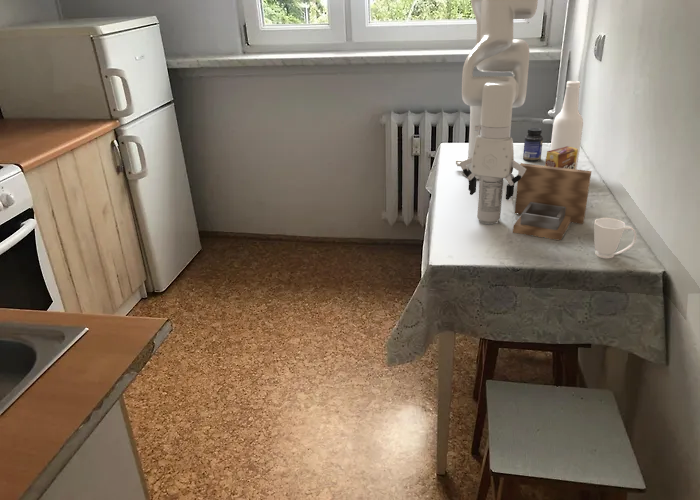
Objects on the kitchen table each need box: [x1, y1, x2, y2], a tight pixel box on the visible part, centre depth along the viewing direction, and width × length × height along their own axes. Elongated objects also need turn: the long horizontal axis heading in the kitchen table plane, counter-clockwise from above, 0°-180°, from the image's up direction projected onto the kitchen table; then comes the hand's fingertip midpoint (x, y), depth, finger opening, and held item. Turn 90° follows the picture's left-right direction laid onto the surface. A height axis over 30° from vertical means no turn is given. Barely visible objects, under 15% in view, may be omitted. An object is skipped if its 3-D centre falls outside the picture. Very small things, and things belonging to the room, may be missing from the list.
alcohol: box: [549, 80, 584, 170], centre depth 183 cm, size 9×9×30 cm
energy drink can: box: [476, 176, 504, 225], centre depth 154 cm, size 6×6×15 cm
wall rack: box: [512, 162, 592, 241], centre depth 150 cm, size 18×15×14 cm
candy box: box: [544, 146, 578, 169], centre depth 166 cm, size 9×4×15 cm, turn 123°
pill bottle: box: [522, 127, 544, 163], centre depth 204 cm, size 6×6×11 cm
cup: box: [593, 217, 638, 260], centre depth 135 cm, size 7×10×8 cm
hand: (490, 195), depth 154 cm, fingers open, 9 cm apart
